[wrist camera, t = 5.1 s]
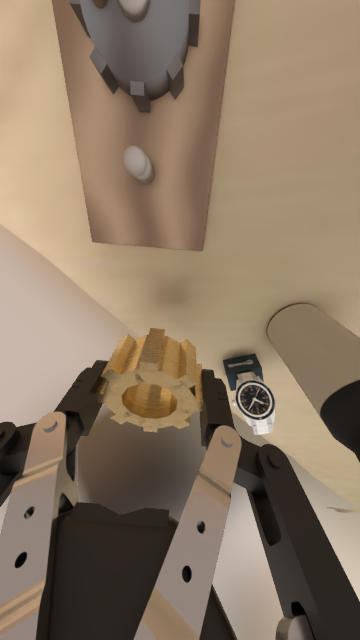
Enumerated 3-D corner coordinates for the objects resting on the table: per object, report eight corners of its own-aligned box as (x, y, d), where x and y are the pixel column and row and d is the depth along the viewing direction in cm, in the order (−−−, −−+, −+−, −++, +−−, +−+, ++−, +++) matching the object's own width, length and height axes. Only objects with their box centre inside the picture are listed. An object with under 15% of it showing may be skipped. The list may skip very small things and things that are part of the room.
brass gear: (207, 332, 11) (212, 367, 9) (195, 396, 14) (197, 435, 12) (108, 324, 11) (84, 357, 9) (118, 389, 14) (103, 427, 12)
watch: (253, 345, 29) (285, 406, 20) (258, 377, 33) (286, 442, 24) (220, 352, 30) (234, 414, 21) (228, 383, 34) (244, 446, 25)
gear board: (241, -67, 12) (287, -309, 6) (201, 249, 22) (206, 259, 17) (48, -83, 12) (-72, -341, 6) (97, 240, 22) (68, 248, 17)
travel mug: (268, 306, 26) (391, 443, 10) (327, 299, 25) (561, 438, 9) (264, 348, 30) (348, 494, 14) (315, 343, 29) (464, 493, 13)
